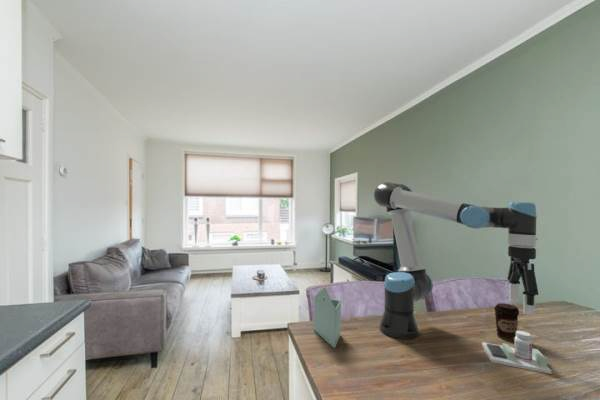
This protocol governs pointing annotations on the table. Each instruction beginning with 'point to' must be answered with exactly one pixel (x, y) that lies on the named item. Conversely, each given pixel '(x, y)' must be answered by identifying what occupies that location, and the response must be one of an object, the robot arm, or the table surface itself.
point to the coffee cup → (506, 321)
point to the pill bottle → (523, 346)
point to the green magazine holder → (327, 317)
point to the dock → (507, 357)
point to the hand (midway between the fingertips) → (521, 307)
